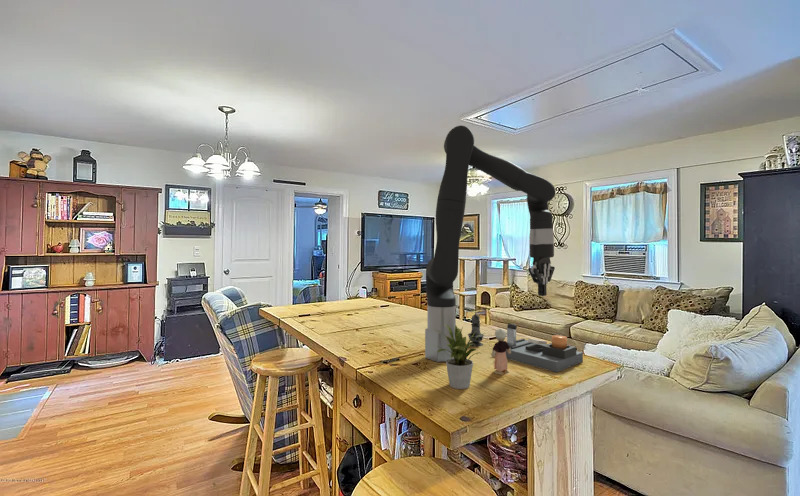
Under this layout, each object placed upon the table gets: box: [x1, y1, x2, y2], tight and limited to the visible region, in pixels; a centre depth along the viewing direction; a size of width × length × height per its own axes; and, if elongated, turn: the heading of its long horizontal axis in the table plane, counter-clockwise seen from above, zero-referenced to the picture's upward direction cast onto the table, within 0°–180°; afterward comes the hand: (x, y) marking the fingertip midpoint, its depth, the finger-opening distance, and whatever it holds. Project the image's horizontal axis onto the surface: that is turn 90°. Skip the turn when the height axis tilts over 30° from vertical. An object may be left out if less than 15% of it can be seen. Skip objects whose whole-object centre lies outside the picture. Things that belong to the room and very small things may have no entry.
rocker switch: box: [527, 338, 548, 345], centre depth 122 cm, size 5×4×1 cm
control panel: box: [495, 338, 584, 373], centre depth 122 cm, size 16×22×6 cm
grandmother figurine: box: [490, 328, 511, 376], centre depth 108 cm, size 8×4×13 cm, turn 135°
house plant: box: [432, 324, 486, 390], centre depth 99 cm, size 14×14×16 cm
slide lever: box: [506, 323, 518, 346], centre depth 126 cm, size 2×3×7 cm, turn 39°
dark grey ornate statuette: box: [467, 312, 485, 347], centre depth 140 cm, size 6×6×12 cm
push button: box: [551, 334, 568, 349], centre depth 116 cm, size 4×4×3 cm
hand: (542, 295), depth 123 cm, fingers closed
